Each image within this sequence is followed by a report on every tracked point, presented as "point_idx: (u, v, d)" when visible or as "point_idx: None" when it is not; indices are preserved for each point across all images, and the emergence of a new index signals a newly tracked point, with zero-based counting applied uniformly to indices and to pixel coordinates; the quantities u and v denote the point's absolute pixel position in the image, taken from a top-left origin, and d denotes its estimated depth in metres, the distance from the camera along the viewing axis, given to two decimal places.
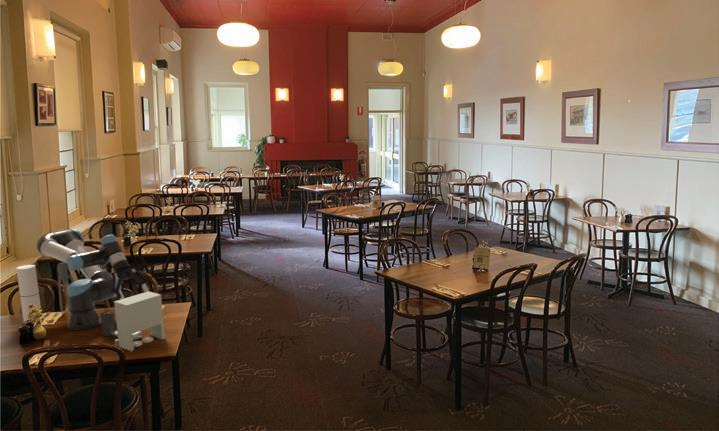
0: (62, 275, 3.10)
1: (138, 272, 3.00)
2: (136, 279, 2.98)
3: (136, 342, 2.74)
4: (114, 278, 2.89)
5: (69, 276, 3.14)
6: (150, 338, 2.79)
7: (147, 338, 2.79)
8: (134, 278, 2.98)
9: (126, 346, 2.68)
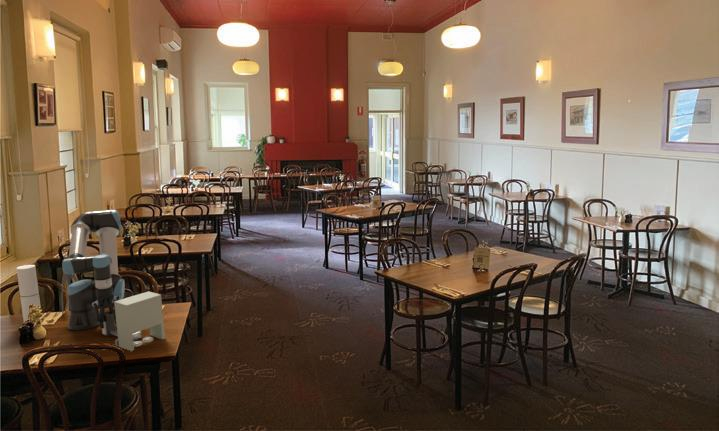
0: (66, 274, 3.12)
1: None
2: (110, 309, 2.87)
3: (136, 342, 2.74)
4: (97, 308, 2.80)
5: (73, 276, 3.16)
6: (150, 338, 2.79)
7: (147, 338, 2.79)
8: (109, 307, 2.87)
9: (126, 346, 2.68)
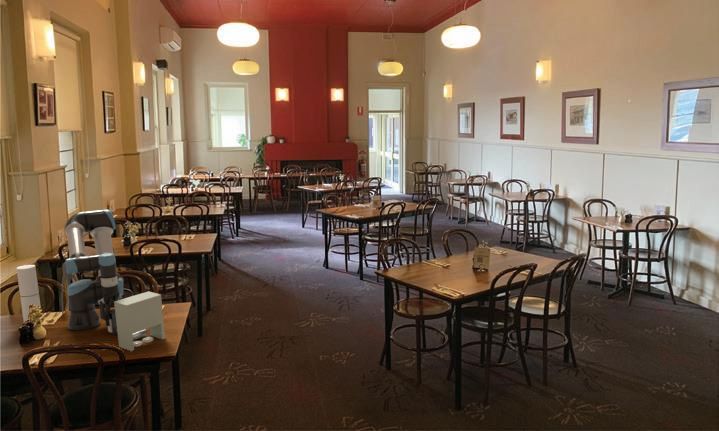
0: (66, 274, 3.12)
1: None
2: None
3: (136, 342, 2.74)
4: (103, 306, 2.83)
5: (73, 276, 3.16)
6: (150, 338, 2.79)
7: (147, 338, 2.79)
8: None
9: (126, 346, 2.68)
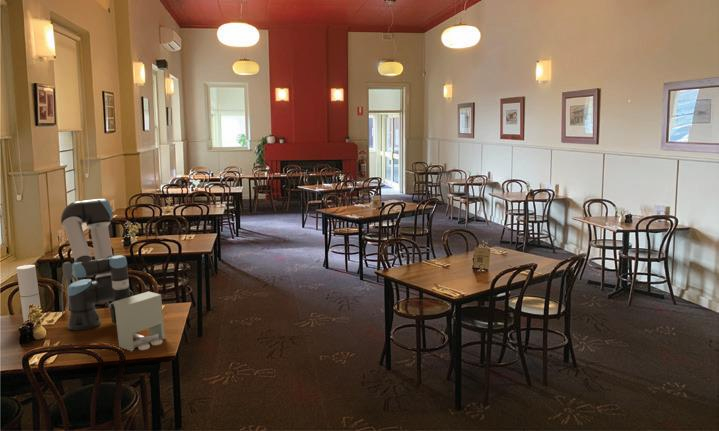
0: (66, 274, 3.12)
1: None
2: None
3: (144, 345, 2.70)
4: (114, 309, 2.77)
5: (73, 276, 3.16)
6: (159, 340, 2.75)
7: (156, 340, 2.75)
8: None
9: (126, 346, 2.68)
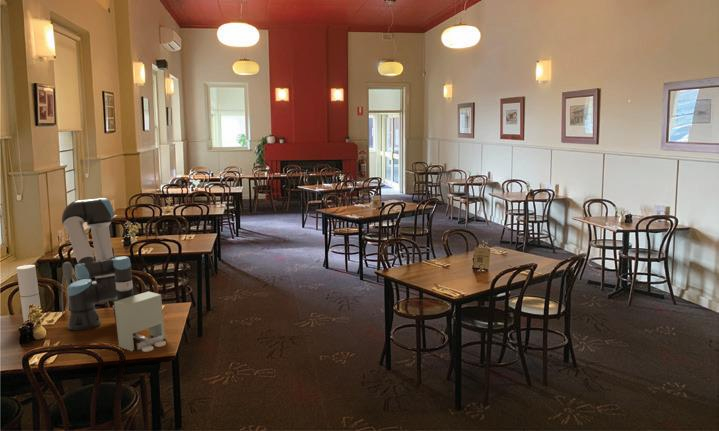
0: (66, 274, 3.12)
1: None
2: None
3: (147, 347, 2.68)
4: None
5: (73, 276, 3.16)
6: (162, 342, 2.73)
7: (159, 342, 2.73)
8: None
9: (126, 346, 2.68)
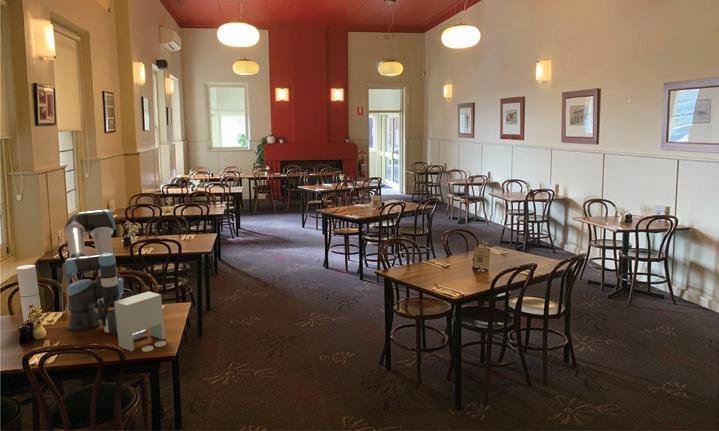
0: (66, 274, 3.12)
1: None
2: None
3: (147, 347, 2.68)
4: (101, 306, 2.82)
5: (73, 276, 3.16)
6: (162, 342, 2.73)
7: (159, 342, 2.73)
8: None
9: (126, 346, 2.68)
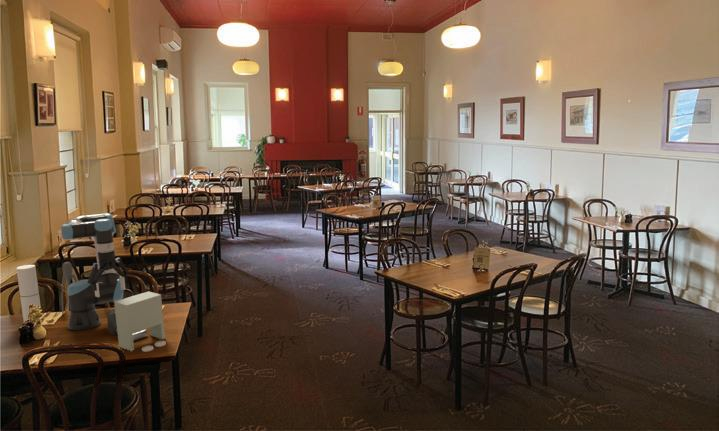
0: (66, 274, 3.12)
1: (121, 264, 2.89)
2: (117, 270, 2.88)
3: (147, 347, 2.68)
4: (96, 270, 2.78)
5: (73, 276, 3.16)
6: (162, 342, 2.73)
7: (159, 342, 2.73)
8: (115, 269, 2.88)
9: (126, 346, 2.68)
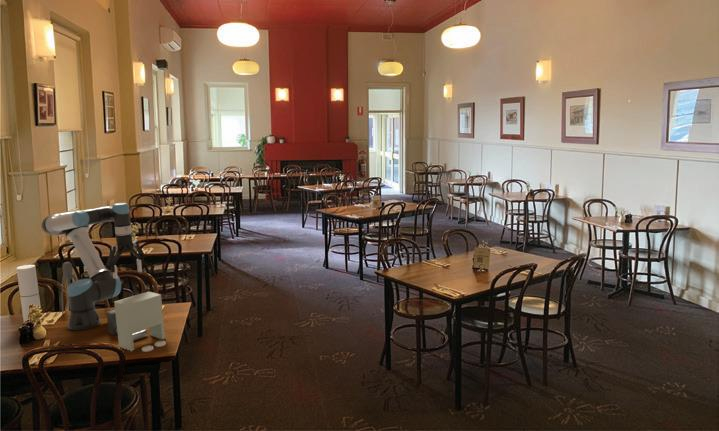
0: (66, 274, 3.12)
1: (138, 247, 2.97)
2: (134, 253, 2.97)
3: (147, 347, 2.68)
4: (114, 252, 2.87)
5: (73, 276, 3.16)
6: (162, 342, 2.73)
7: (159, 342, 2.73)
8: (132, 252, 2.96)
9: (126, 346, 2.68)
